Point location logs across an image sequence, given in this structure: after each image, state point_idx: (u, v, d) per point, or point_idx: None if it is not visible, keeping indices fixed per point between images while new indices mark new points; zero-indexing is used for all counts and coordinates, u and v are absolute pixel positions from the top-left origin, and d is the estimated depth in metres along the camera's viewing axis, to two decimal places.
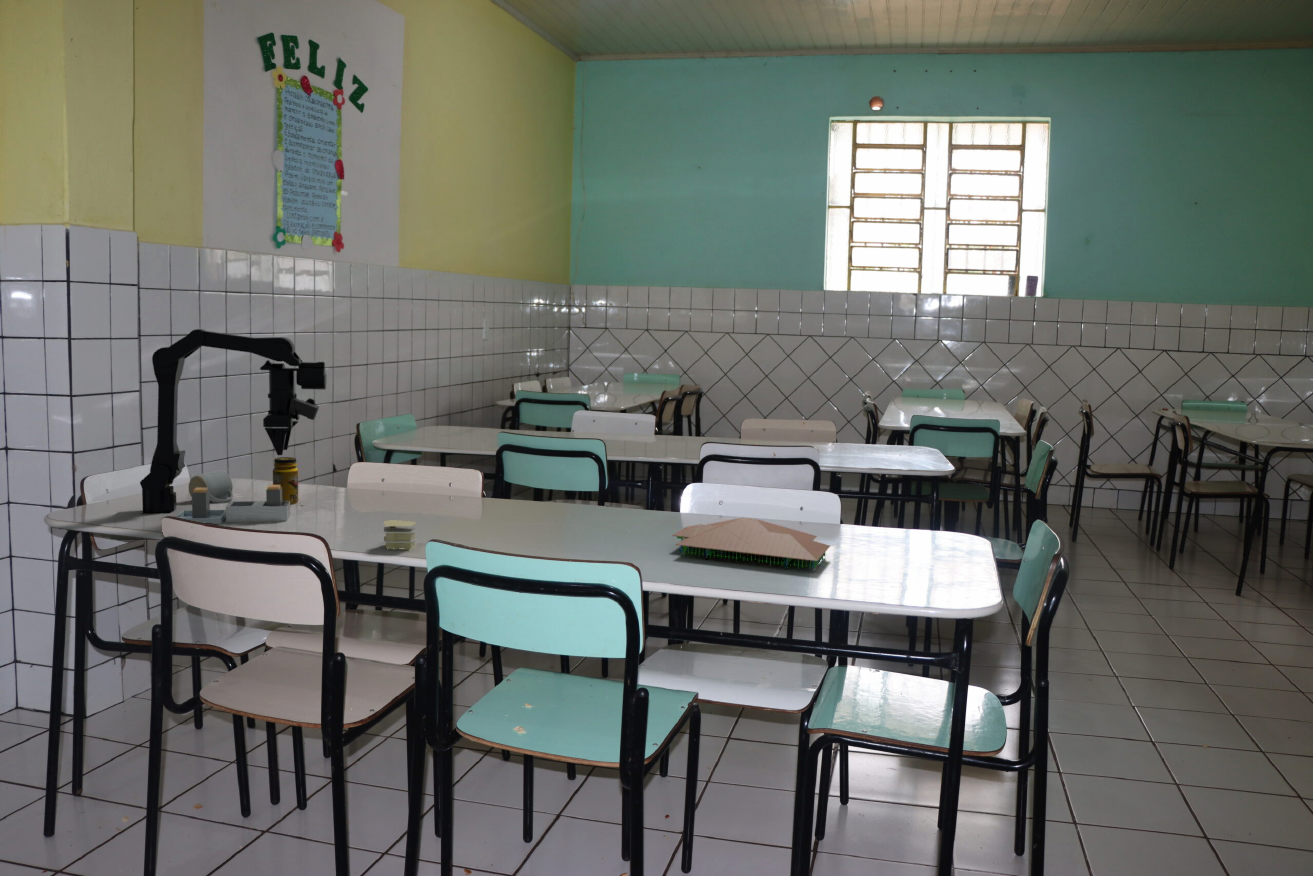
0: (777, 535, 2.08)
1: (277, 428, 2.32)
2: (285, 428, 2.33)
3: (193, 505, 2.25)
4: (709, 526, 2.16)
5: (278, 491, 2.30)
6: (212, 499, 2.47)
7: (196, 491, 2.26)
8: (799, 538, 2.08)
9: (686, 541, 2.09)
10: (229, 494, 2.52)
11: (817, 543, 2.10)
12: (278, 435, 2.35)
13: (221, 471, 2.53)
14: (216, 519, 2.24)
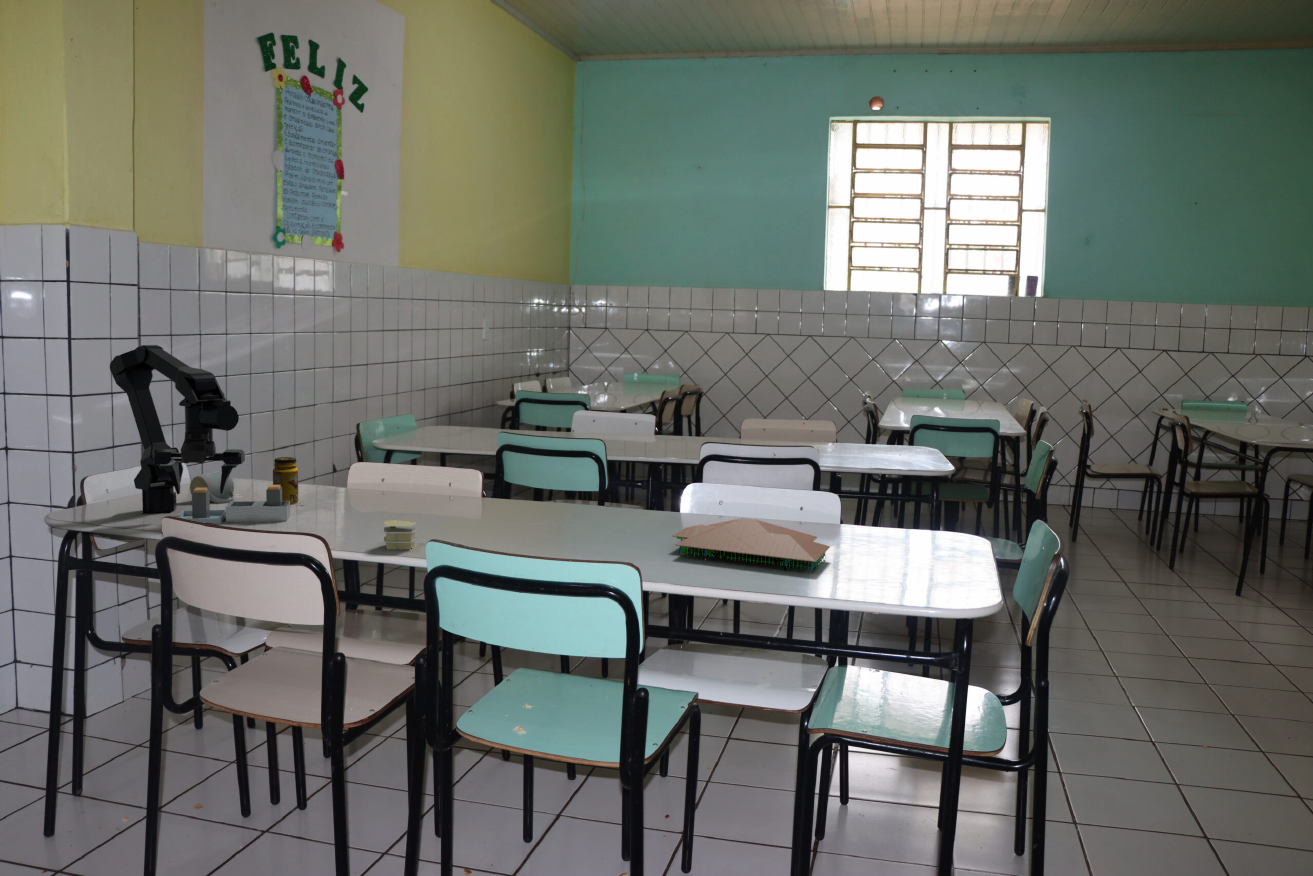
0: (776, 536, 2.07)
1: None
2: (160, 465, 2.23)
3: (193, 505, 2.25)
4: (709, 527, 2.16)
5: (278, 491, 2.30)
6: (213, 499, 2.47)
7: (196, 491, 2.26)
8: (798, 539, 2.07)
9: (685, 541, 2.09)
10: (230, 494, 2.52)
11: (817, 544, 2.09)
12: None
13: None
14: (216, 519, 2.24)
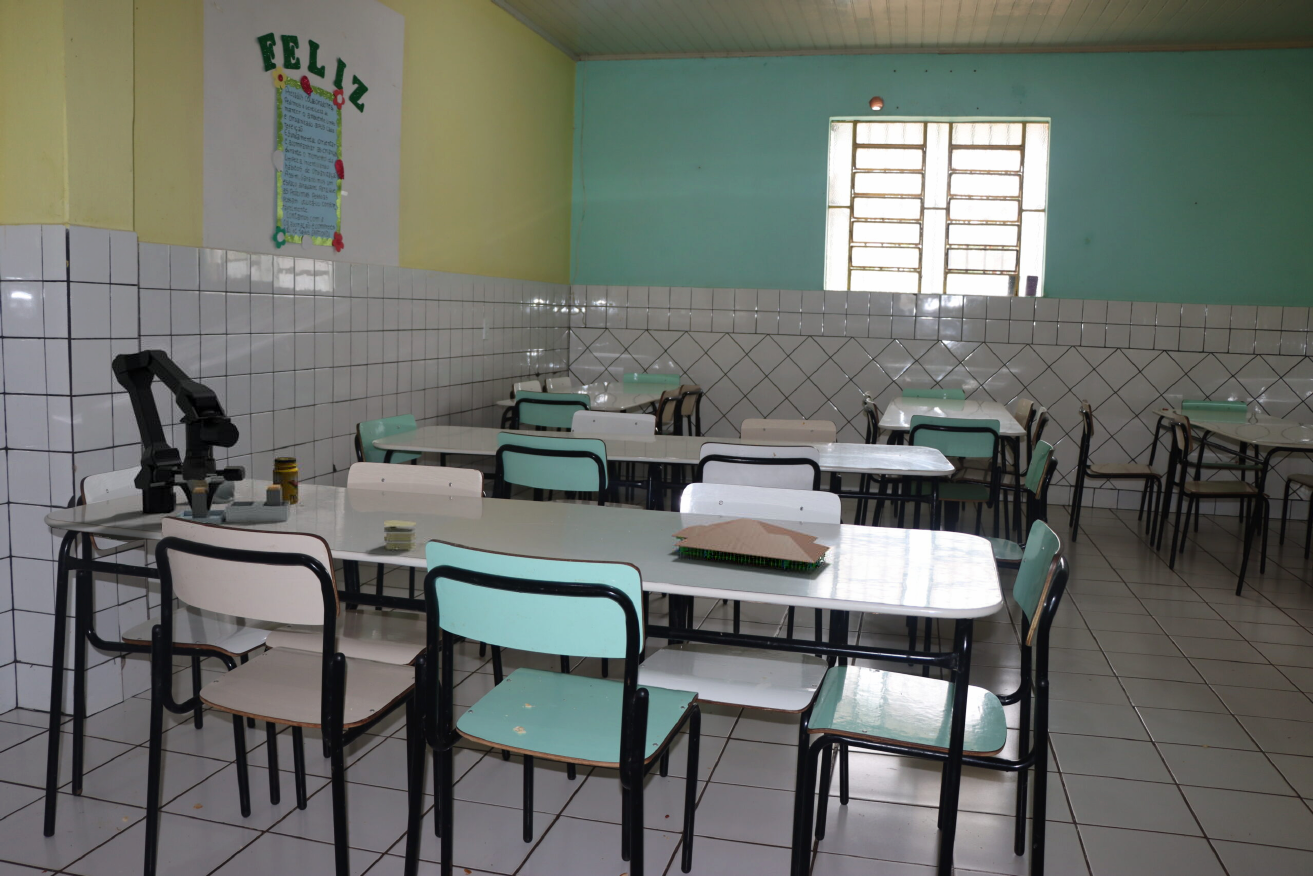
0: (776, 536, 2.07)
1: None
2: (174, 482, 2.24)
3: (193, 505, 2.25)
4: (709, 527, 2.16)
5: (278, 491, 2.30)
6: (214, 499, 2.47)
7: (196, 491, 2.26)
8: (798, 540, 2.07)
9: (684, 542, 2.09)
10: (231, 494, 2.52)
11: (816, 545, 2.09)
12: None
13: None
14: (216, 519, 2.24)
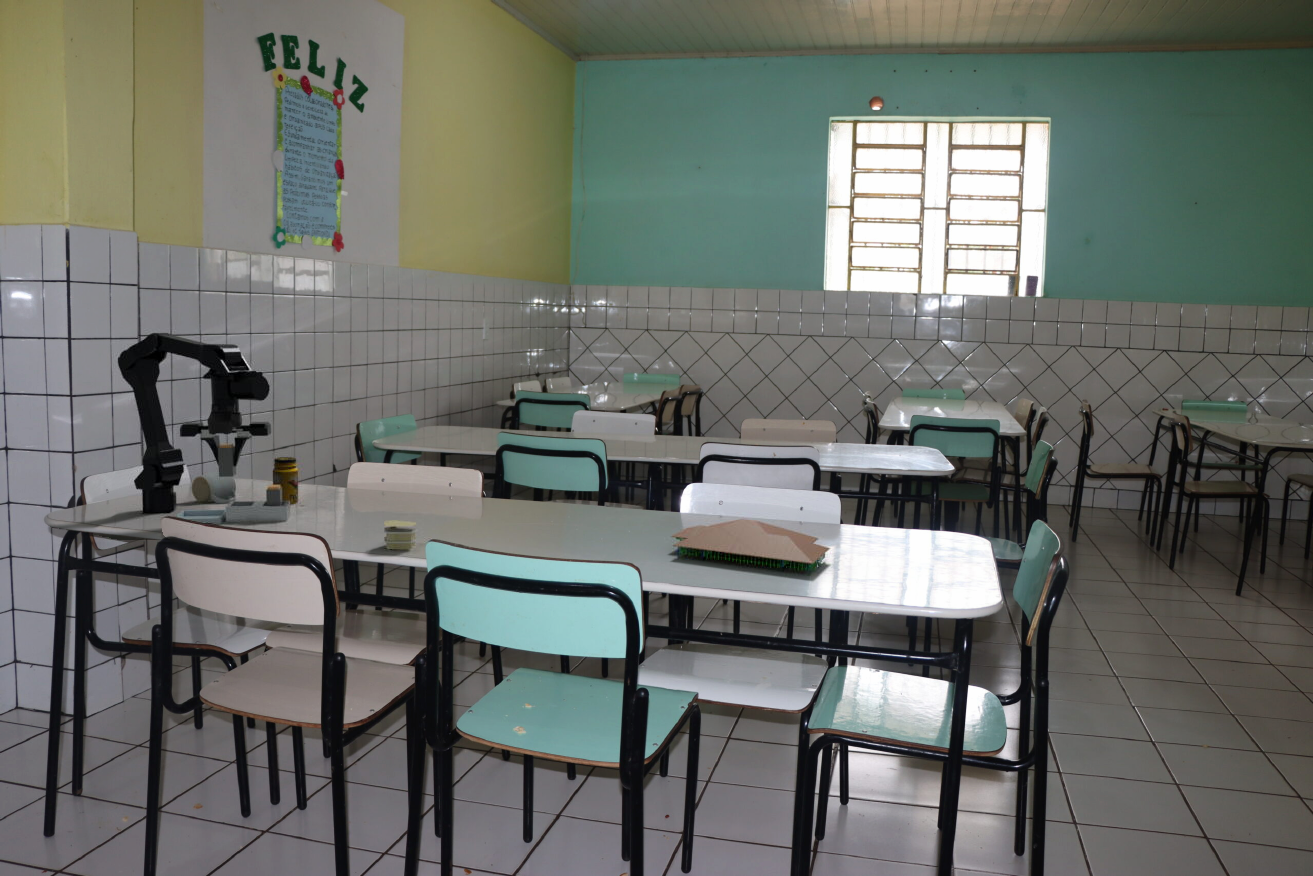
0: (775, 537, 2.06)
1: None
2: None
3: (219, 460, 2.25)
4: (708, 527, 2.15)
5: (278, 491, 2.30)
6: (215, 500, 2.47)
7: (222, 446, 2.25)
8: (797, 540, 2.06)
9: (683, 542, 2.09)
10: (232, 495, 2.52)
11: (816, 545, 2.08)
12: None
13: None
14: (216, 519, 2.24)
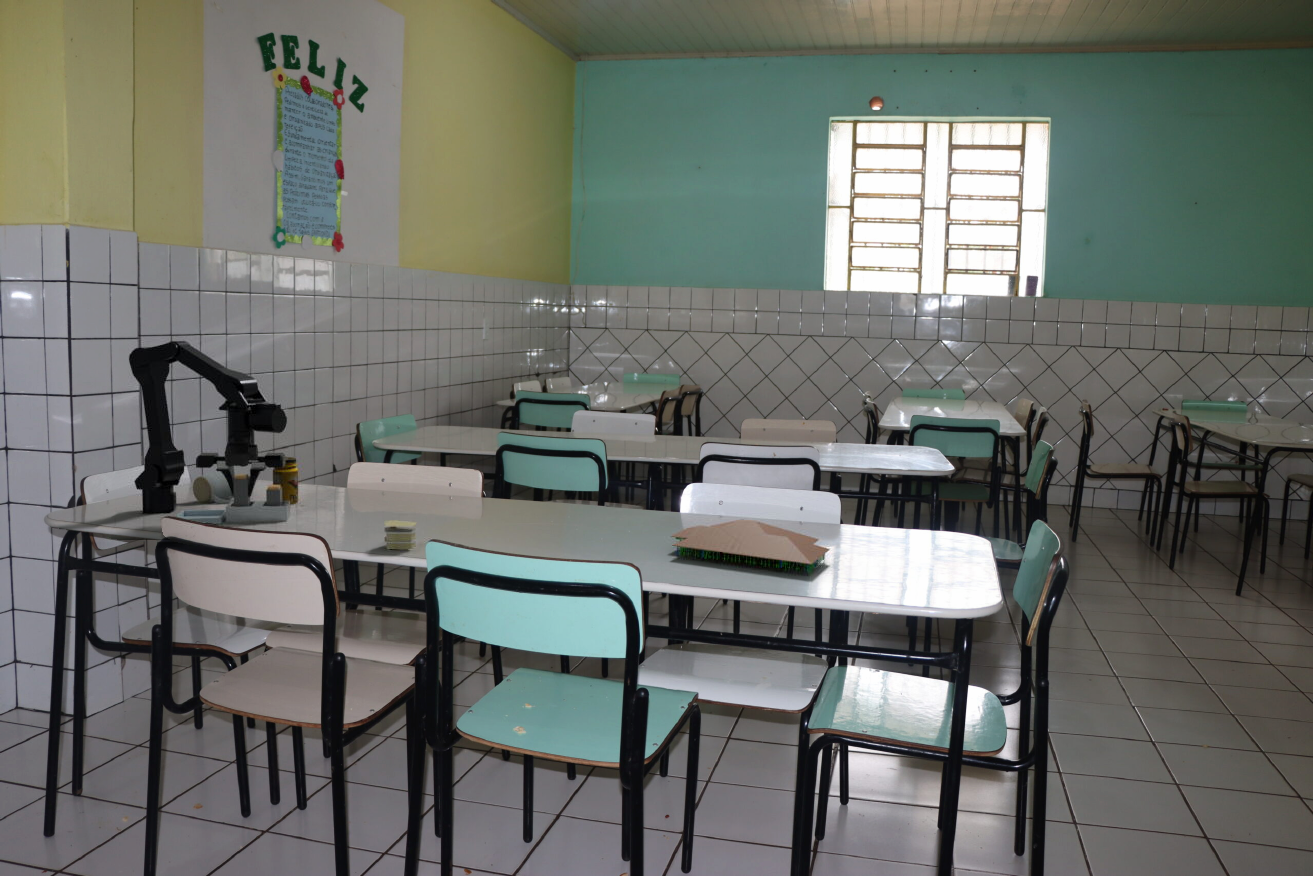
0: (774, 537, 2.06)
1: None
2: None
3: (235, 491, 2.27)
4: (708, 527, 2.15)
5: (278, 491, 2.30)
6: (216, 500, 2.47)
7: (238, 477, 2.27)
8: (796, 541, 2.05)
9: (683, 542, 2.08)
10: None
11: (815, 546, 2.07)
12: None
13: None
14: (216, 519, 2.24)
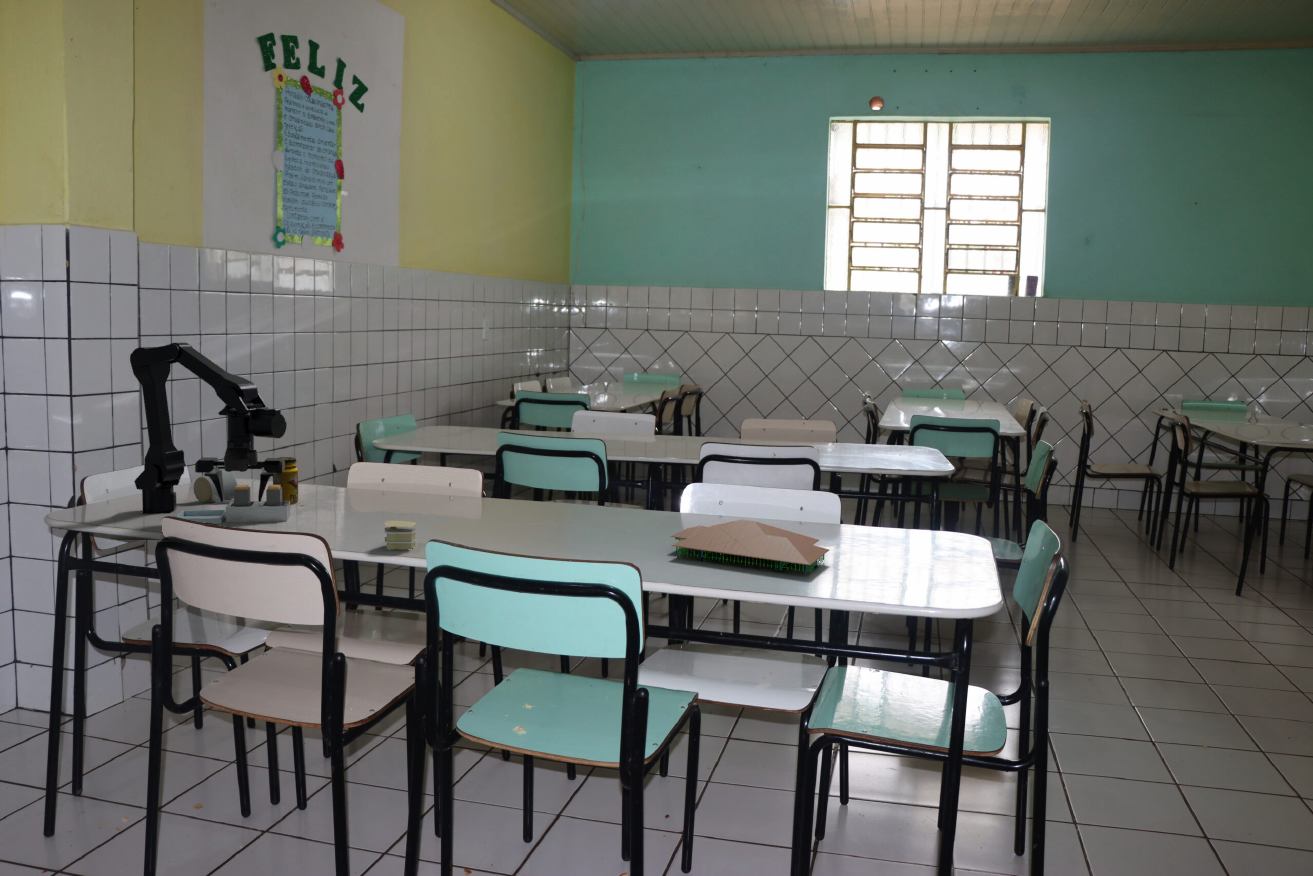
0: (773, 538, 2.05)
1: None
2: None
3: (235, 502, 2.28)
4: (708, 528, 2.15)
5: (278, 491, 2.30)
6: (217, 500, 2.46)
7: (238, 488, 2.28)
8: (796, 541, 2.05)
9: (682, 542, 2.08)
10: None
11: (815, 547, 2.06)
12: None
13: (226, 472, 2.52)
14: (216, 519, 2.24)
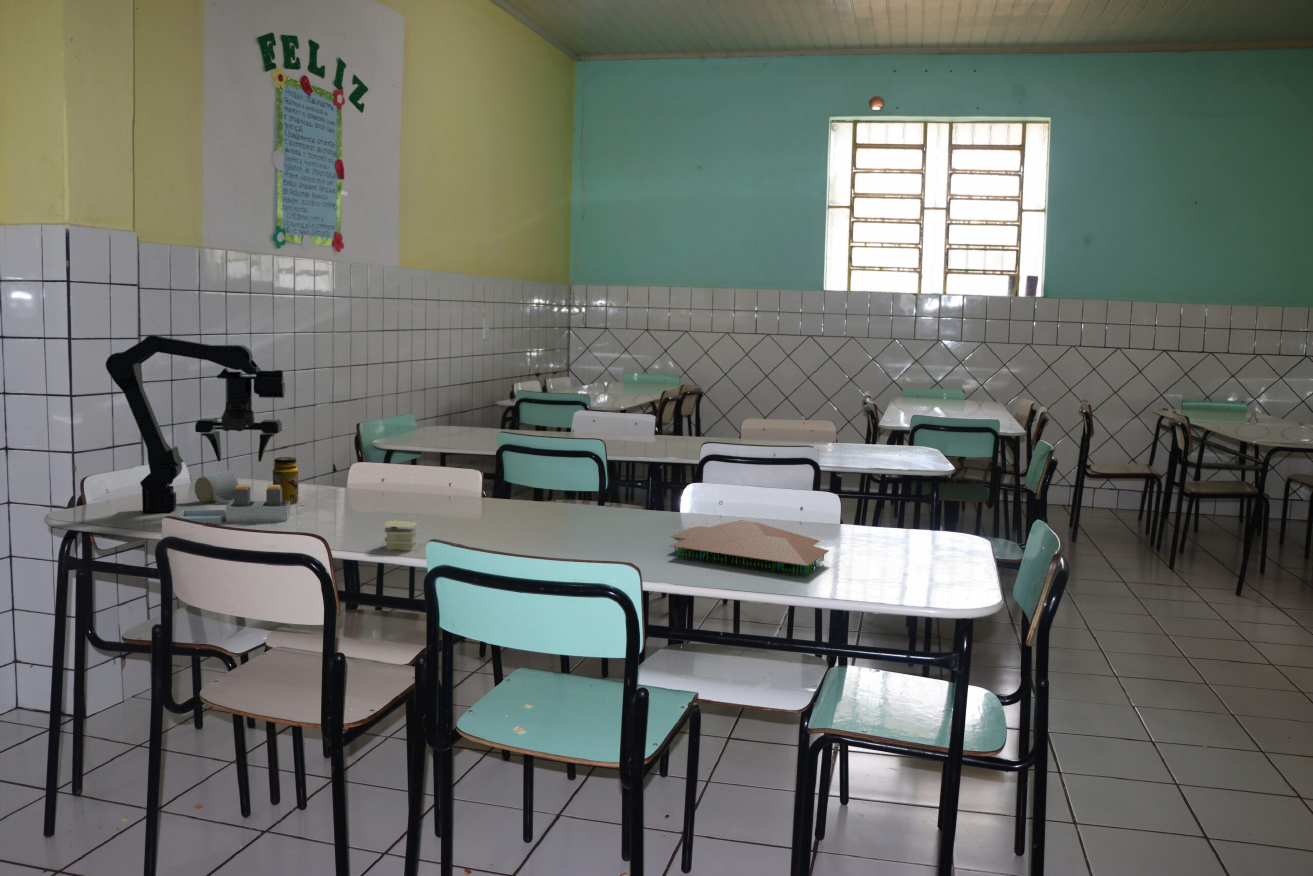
0: (772, 538, 2.04)
1: None
2: None
3: (235, 502, 2.28)
4: (707, 528, 2.14)
5: (278, 491, 2.30)
6: (218, 500, 2.46)
7: (238, 488, 2.28)
8: (794, 542, 2.04)
9: (680, 543, 2.08)
10: None
11: (814, 548, 2.06)
12: None
13: (227, 472, 2.52)
14: (216, 519, 2.24)
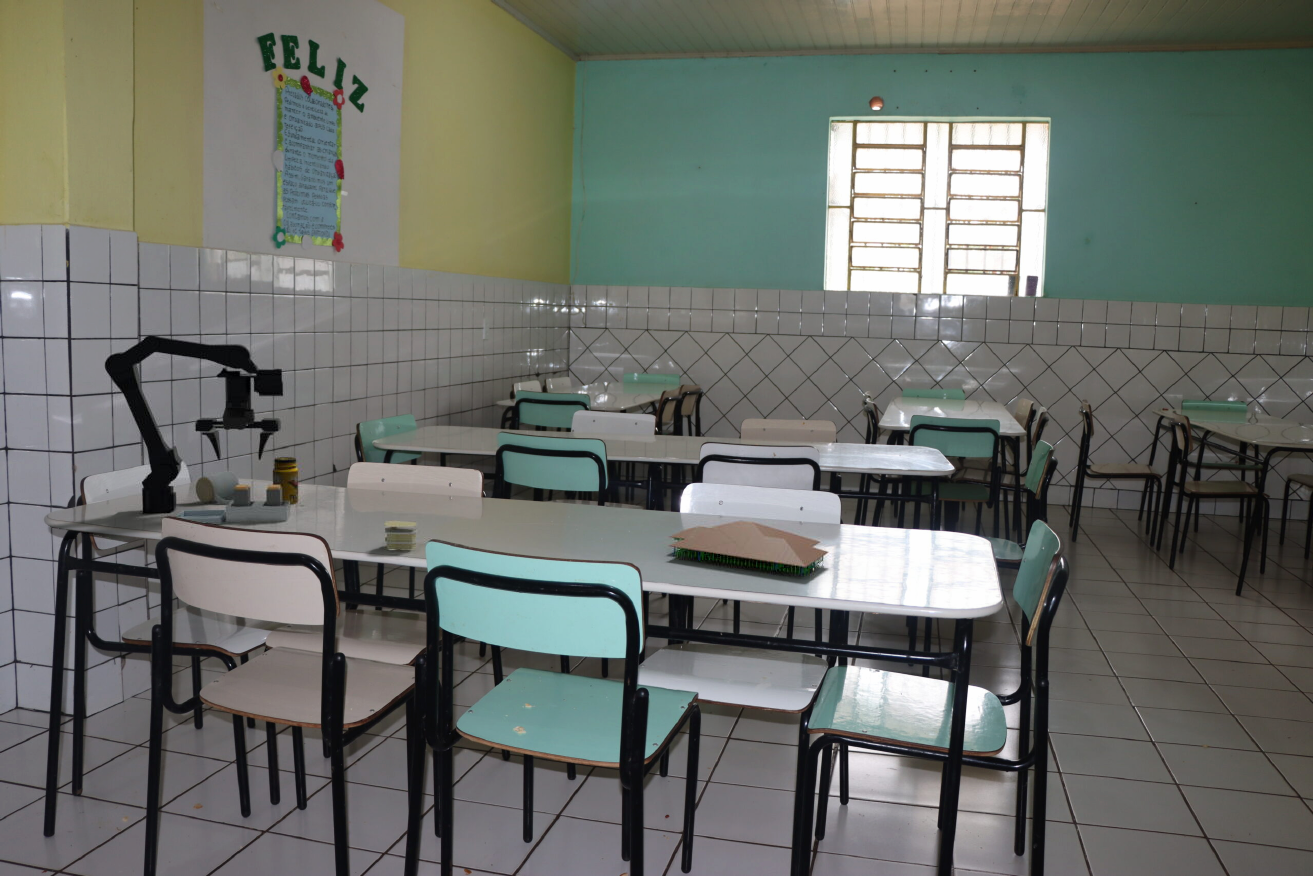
0: (771, 539, 2.04)
1: None
2: (202, 432, 2.36)
3: (235, 502, 2.28)
4: (707, 528, 2.14)
5: (278, 491, 2.30)
6: (219, 500, 2.46)
7: (238, 488, 2.28)
8: (793, 543, 2.03)
9: (679, 543, 2.08)
10: None
11: (813, 549, 2.05)
12: None
13: (228, 472, 2.52)
14: (216, 519, 2.24)
